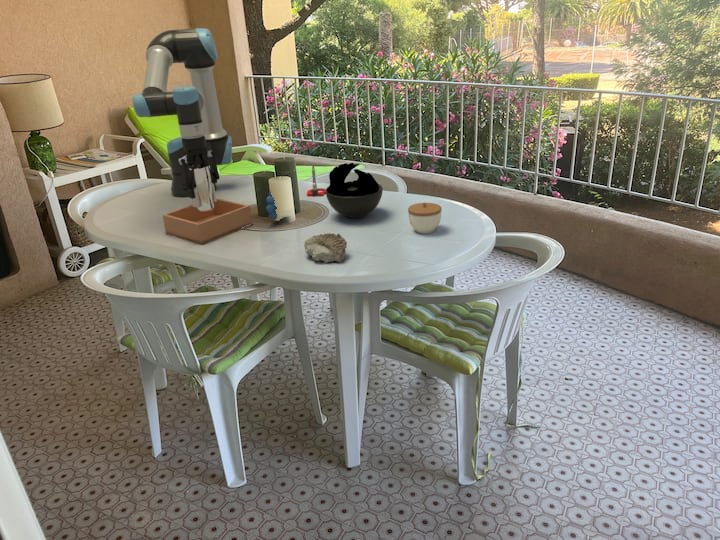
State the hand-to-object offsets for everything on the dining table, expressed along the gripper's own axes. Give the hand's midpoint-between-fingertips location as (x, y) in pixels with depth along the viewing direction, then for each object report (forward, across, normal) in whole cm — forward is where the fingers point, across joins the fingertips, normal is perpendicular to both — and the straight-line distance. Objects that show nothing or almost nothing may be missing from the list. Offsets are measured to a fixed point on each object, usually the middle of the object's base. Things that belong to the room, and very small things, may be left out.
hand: (205, 203), depth 190 cm
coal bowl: (+10, +36, -37) cm, 52 cm away
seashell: (+10, +3, -52) cm, 53 cm away
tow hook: (+10, +51, -5) cm, 52 cm away
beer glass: (+2, 0, 0) cm, 2 cm away
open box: (+9, 0, 0) cm, 9 cm away
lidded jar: (+10, +36, -66) cm, 76 cm away
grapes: (+10, +18, -17) cm, 27 cm away
